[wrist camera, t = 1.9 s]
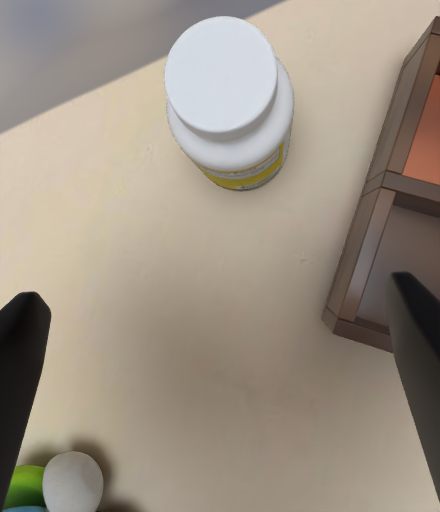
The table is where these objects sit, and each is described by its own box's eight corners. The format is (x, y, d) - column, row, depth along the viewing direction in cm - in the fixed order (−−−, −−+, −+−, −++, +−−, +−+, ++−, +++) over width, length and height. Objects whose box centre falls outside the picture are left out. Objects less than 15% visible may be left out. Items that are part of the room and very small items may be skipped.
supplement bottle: (218, 87, 23) (181, -30, 13) (302, 121, 23) (329, 24, 13) (182, 171, 23) (120, 117, 14) (264, 207, 23) (261, 177, 13)
